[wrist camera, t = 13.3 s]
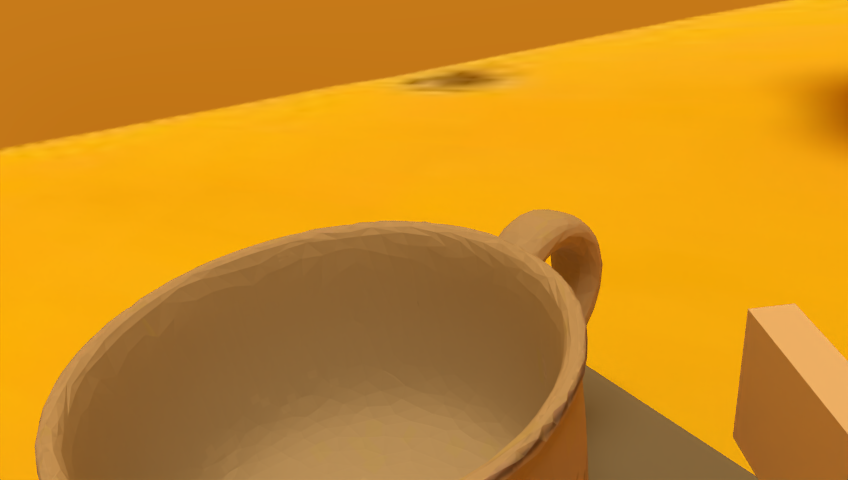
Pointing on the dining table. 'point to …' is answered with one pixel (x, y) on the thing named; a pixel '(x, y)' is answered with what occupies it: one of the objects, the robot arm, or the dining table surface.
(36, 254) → the dining table surface
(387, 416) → the teacup
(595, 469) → the placemat
